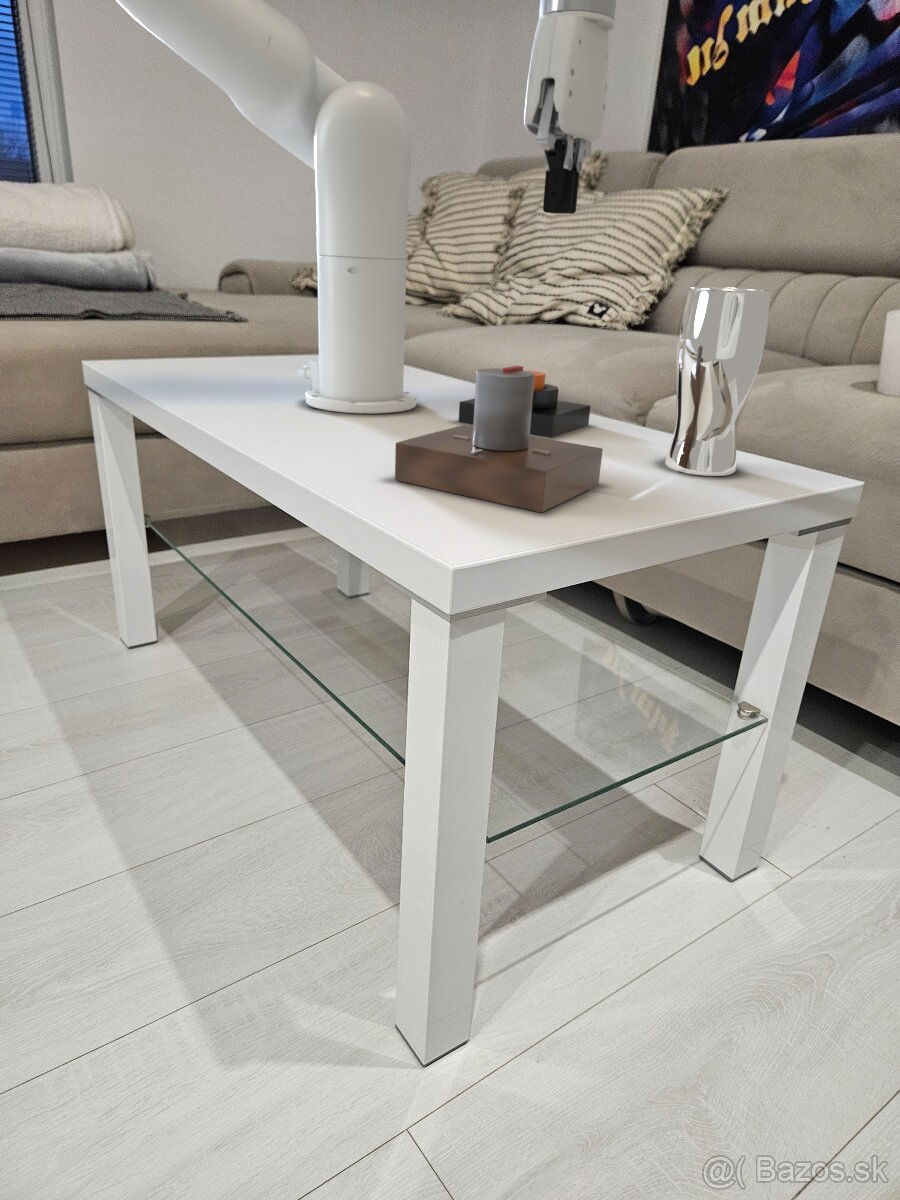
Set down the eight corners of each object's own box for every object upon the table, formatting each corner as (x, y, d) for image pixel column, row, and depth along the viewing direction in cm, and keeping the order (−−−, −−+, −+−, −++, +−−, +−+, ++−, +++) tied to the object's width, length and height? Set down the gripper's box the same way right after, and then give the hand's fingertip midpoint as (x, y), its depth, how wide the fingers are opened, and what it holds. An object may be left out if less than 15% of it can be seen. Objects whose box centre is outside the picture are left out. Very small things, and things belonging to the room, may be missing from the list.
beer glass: (655, 456, 77) (680, 284, 71) (731, 461, 76) (763, 288, 70) (665, 474, 71) (693, 287, 65) (748, 480, 70) (784, 292, 64)
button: (503, 389, 86) (504, 372, 86) (519, 386, 89) (521, 369, 89) (534, 393, 85) (535, 376, 84) (549, 390, 87) (551, 373, 87)
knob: (510, 454, 62) (516, 374, 59) (461, 444, 64) (465, 367, 61) (538, 444, 65) (545, 369, 63) (491, 436, 67) (496, 362, 65)
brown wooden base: (394, 480, 65) (395, 440, 64) (462, 458, 73) (464, 422, 71) (541, 513, 58) (546, 469, 57) (598, 485, 66) (603, 446, 65)
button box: (458, 422, 88) (460, 384, 86) (500, 411, 95) (502, 376, 93) (551, 438, 82) (555, 397, 81) (588, 425, 89) (592, 388, 88)
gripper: (574, 30, 90) (558, 216, 97) (507, -6, 78) (494, 207, 85) (640, 24, 86) (618, 217, 93) (580, -15, 75) (560, 209, 82)
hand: (559, 212), depth 89 cm, fingers closed
